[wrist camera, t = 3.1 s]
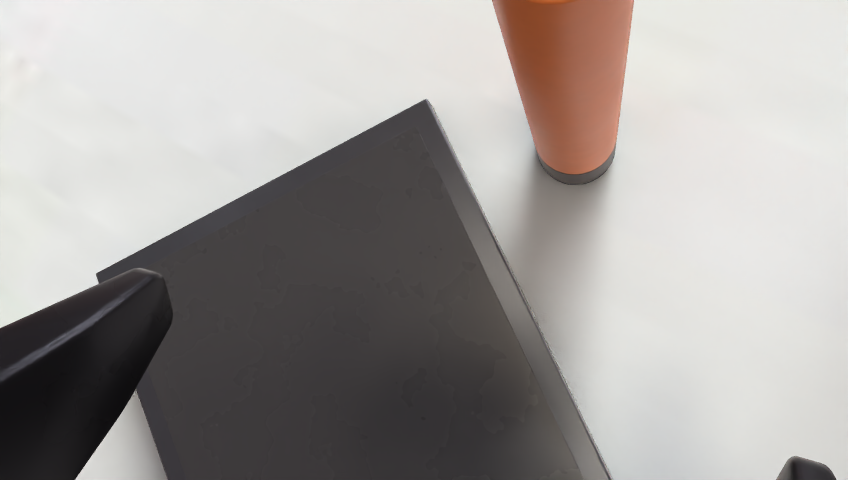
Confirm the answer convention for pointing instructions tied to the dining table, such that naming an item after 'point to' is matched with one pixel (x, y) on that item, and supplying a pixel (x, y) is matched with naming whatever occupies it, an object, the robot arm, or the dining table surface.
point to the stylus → (569, 78)
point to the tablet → (356, 330)
